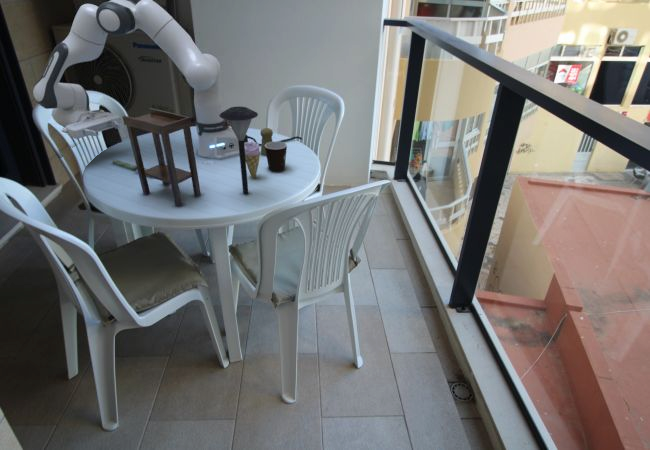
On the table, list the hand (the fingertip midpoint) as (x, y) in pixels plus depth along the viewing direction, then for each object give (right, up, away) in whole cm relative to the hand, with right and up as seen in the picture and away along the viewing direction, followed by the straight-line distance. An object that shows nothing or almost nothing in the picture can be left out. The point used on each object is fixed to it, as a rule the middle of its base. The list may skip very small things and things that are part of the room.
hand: (107, 130), depth 151 cm
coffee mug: (+65, -14, +8) cm, 67 cm away
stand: (+30, -26, -14) cm, 42 cm away
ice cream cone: (+56, -19, 0) cm, 59 cm away
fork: (+9, -15, +3) cm, 18 cm away
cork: (+59, -6, +21) cm, 63 cm away
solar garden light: (+56, -26, -11) cm, 62 cm away
